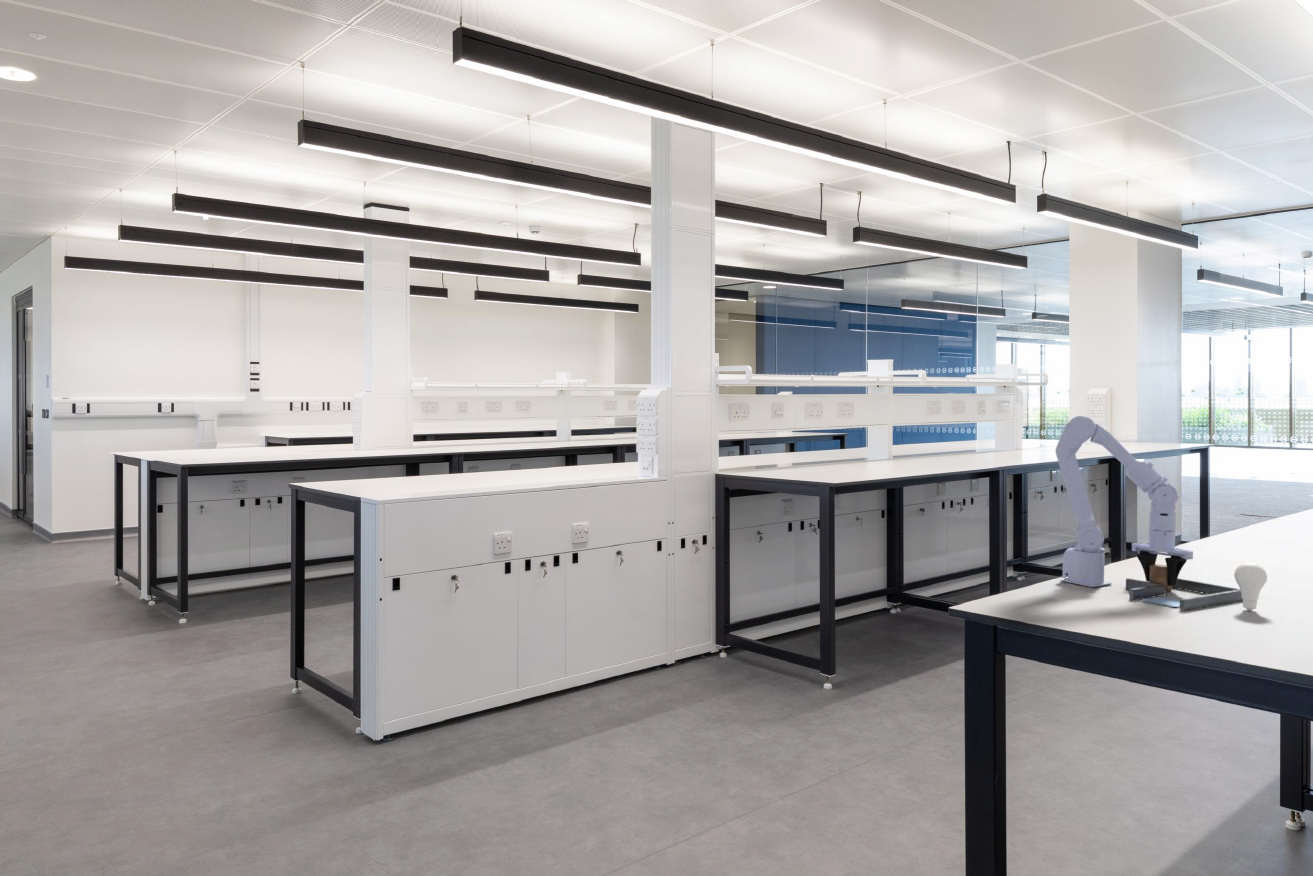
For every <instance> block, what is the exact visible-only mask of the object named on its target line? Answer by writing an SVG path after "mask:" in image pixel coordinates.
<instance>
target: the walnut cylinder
mask: <svg viewBox="0 0 1313 876" xmlns="http://www.w3.org/2000/svg"><path fill="white" fill-rule="evenodd" d="M1167 578H1168V571H1167V565H1166V564H1156V563H1155V564H1153V565H1150V576H1149V582H1151V583H1156V584H1162V585H1165V591H1171V590H1172V591H1173V587H1172V586H1169V585H1168V582H1167ZM1172 591H1171V592H1172Z"/></svg>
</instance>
